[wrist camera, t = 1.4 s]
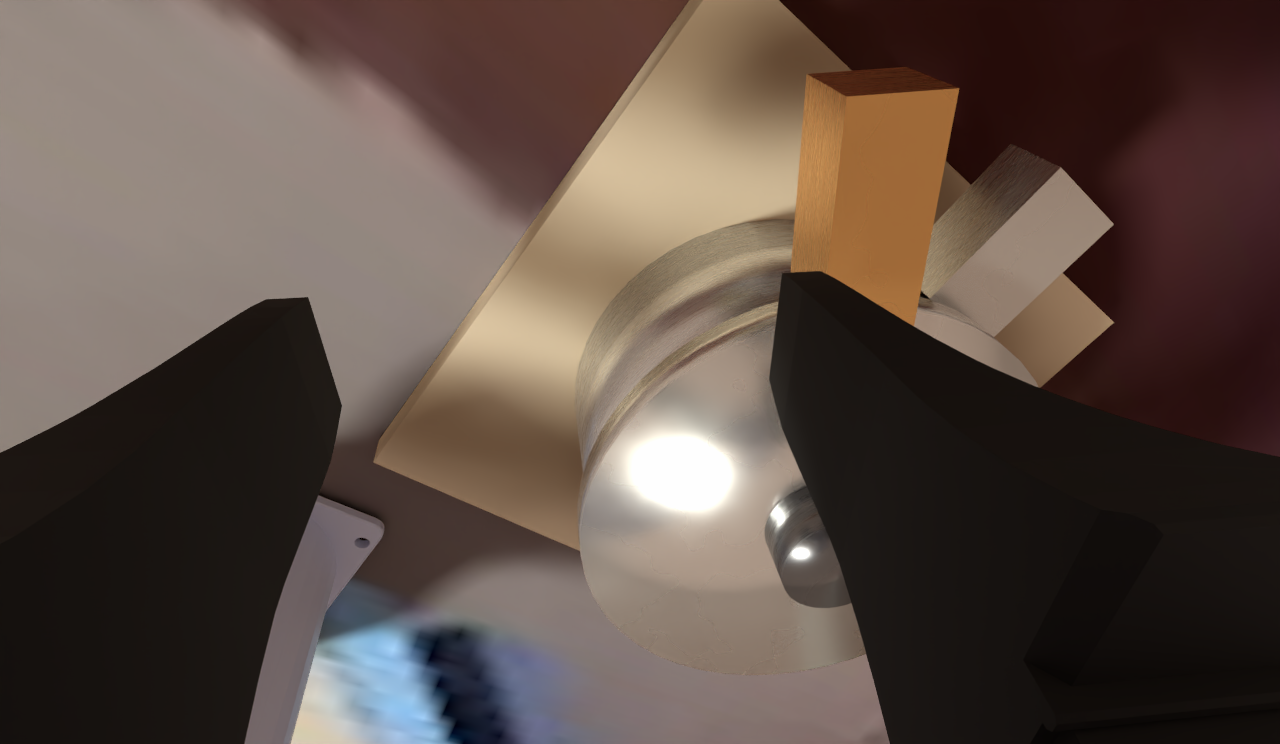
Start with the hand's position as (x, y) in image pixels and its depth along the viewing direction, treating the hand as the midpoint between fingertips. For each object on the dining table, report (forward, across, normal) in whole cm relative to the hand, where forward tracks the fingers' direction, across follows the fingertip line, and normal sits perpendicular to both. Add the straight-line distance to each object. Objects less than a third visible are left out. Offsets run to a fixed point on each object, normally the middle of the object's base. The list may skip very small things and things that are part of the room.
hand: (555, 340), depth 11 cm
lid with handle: (+4, -6, +6) cm, 9 cm away
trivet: (+10, -6, +9) cm, 15 cm away
